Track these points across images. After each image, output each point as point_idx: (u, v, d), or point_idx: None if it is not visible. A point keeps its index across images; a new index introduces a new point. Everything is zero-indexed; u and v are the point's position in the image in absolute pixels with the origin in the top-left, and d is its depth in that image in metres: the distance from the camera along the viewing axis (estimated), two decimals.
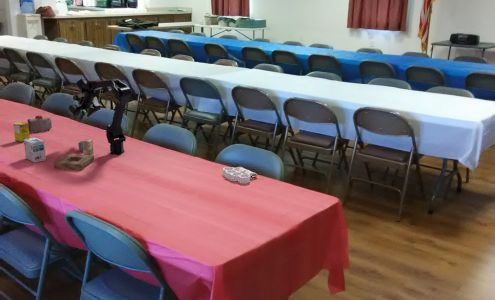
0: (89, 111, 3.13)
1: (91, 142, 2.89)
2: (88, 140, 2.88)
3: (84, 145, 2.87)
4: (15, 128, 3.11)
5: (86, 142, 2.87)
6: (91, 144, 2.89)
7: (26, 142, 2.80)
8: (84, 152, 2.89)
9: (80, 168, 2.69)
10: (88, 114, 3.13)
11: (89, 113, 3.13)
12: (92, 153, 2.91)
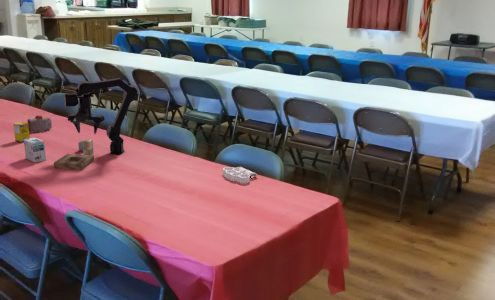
0: (78, 126, 2.87)
1: (91, 142, 2.89)
2: (88, 140, 2.88)
3: (84, 145, 2.87)
4: (15, 128, 3.11)
5: (86, 142, 2.87)
6: (91, 144, 2.89)
7: (26, 142, 2.80)
8: (84, 152, 2.89)
9: (80, 168, 2.69)
10: (79, 129, 2.88)
11: (79, 127, 2.88)
12: (92, 153, 2.91)
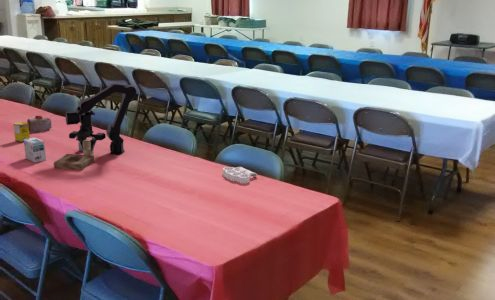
0: None
1: None
2: (88, 140, 2.88)
3: (84, 145, 2.87)
4: (15, 128, 3.11)
5: (86, 142, 2.87)
6: None
7: (26, 142, 2.80)
8: (84, 152, 2.89)
9: (80, 168, 2.69)
10: None
11: None
12: (92, 153, 2.91)
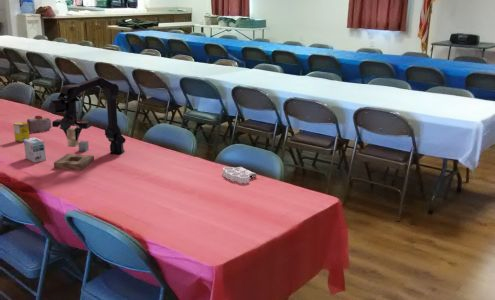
0: None
1: None
2: (72, 129, 2.71)
3: (68, 134, 2.71)
4: (15, 128, 3.11)
5: (70, 131, 2.70)
6: None
7: (26, 142, 2.80)
8: (68, 142, 2.72)
9: (80, 168, 2.69)
10: None
11: None
12: (77, 143, 2.74)
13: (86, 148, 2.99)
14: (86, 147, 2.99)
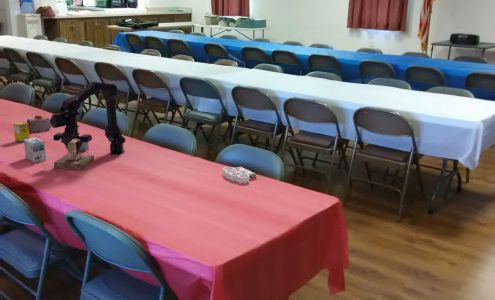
0: None
1: None
2: (73, 142, 2.73)
3: (69, 147, 2.72)
4: (15, 128, 3.11)
5: (71, 144, 2.72)
6: None
7: (26, 142, 2.80)
8: (69, 155, 2.74)
9: (80, 168, 2.69)
10: None
11: None
12: (78, 156, 2.76)
13: (86, 148, 2.99)
14: (86, 147, 2.99)
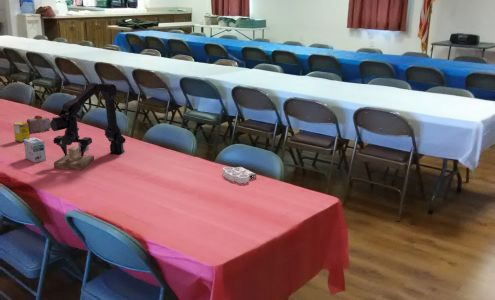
0: (65, 148, 2.75)
1: (77, 150, 2.75)
2: (74, 148, 2.74)
3: (70, 153, 2.73)
4: (15, 128, 3.11)
5: (72, 150, 2.73)
6: (77, 152, 2.75)
7: (26, 142, 2.80)
8: None
9: (80, 168, 2.69)
10: (66, 152, 2.76)
11: (66, 150, 2.76)
12: None
13: (86, 148, 2.99)
14: (86, 147, 2.99)
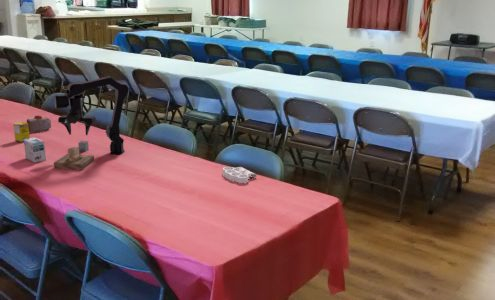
0: (69, 127, 2.84)
1: (77, 150, 2.75)
2: (74, 148, 2.74)
3: (70, 153, 2.73)
4: (15, 128, 3.11)
5: (72, 150, 2.73)
6: (77, 152, 2.75)
7: (26, 142, 2.80)
8: None
9: (80, 168, 2.69)
10: (70, 131, 2.85)
11: (70, 129, 2.85)
12: None
13: (86, 148, 2.99)
14: (86, 147, 2.99)
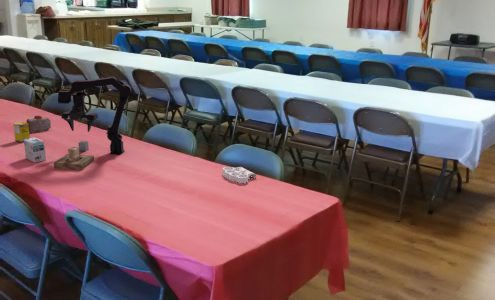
0: (71, 123, 2.90)
1: (77, 150, 2.75)
2: (74, 148, 2.74)
3: (70, 153, 2.73)
4: (15, 128, 3.11)
5: (72, 150, 2.73)
6: (77, 152, 2.75)
7: (26, 142, 2.80)
8: None
9: (80, 168, 2.69)
10: (72, 127, 2.91)
11: (72, 125, 2.91)
12: None
13: (86, 148, 2.99)
14: (86, 147, 2.99)
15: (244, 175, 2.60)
